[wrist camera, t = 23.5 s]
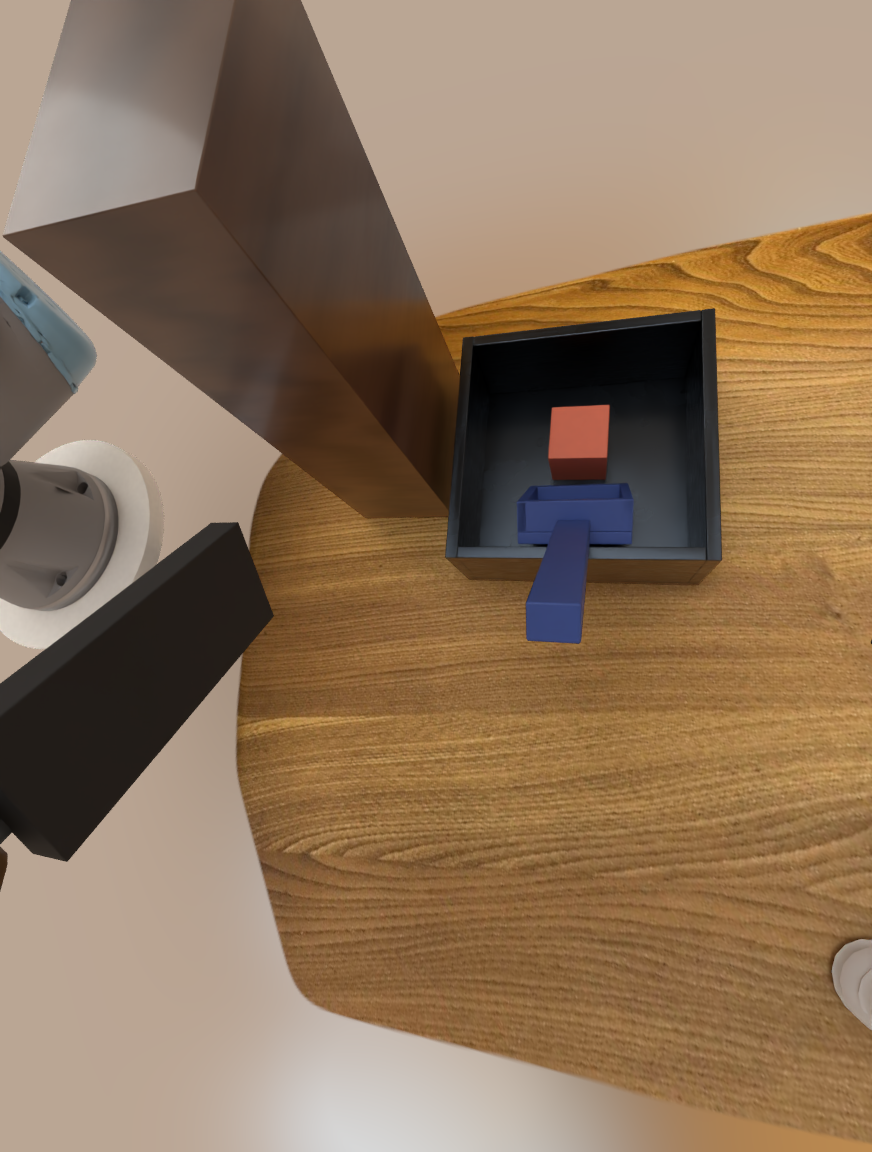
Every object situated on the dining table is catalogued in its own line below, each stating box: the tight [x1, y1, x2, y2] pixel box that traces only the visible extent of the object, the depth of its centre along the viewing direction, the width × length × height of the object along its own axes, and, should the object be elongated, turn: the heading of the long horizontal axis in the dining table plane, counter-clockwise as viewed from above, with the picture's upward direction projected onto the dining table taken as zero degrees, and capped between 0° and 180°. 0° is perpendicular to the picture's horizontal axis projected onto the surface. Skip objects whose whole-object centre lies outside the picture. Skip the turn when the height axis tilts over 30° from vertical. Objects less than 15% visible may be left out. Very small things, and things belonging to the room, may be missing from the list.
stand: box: [3, 0, 460, 518], centre depth 32 cm, size 8×12×30 cm, turn 175°
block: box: [548, 405, 610, 480], centre depth 39 cm, size 4×4×4 cm
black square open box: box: [445, 308, 722, 585], centre depth 38 cm, size 17×17×7 cm
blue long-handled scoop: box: [517, 483, 634, 644], centre depth 29 cm, size 7×22×3 cm
